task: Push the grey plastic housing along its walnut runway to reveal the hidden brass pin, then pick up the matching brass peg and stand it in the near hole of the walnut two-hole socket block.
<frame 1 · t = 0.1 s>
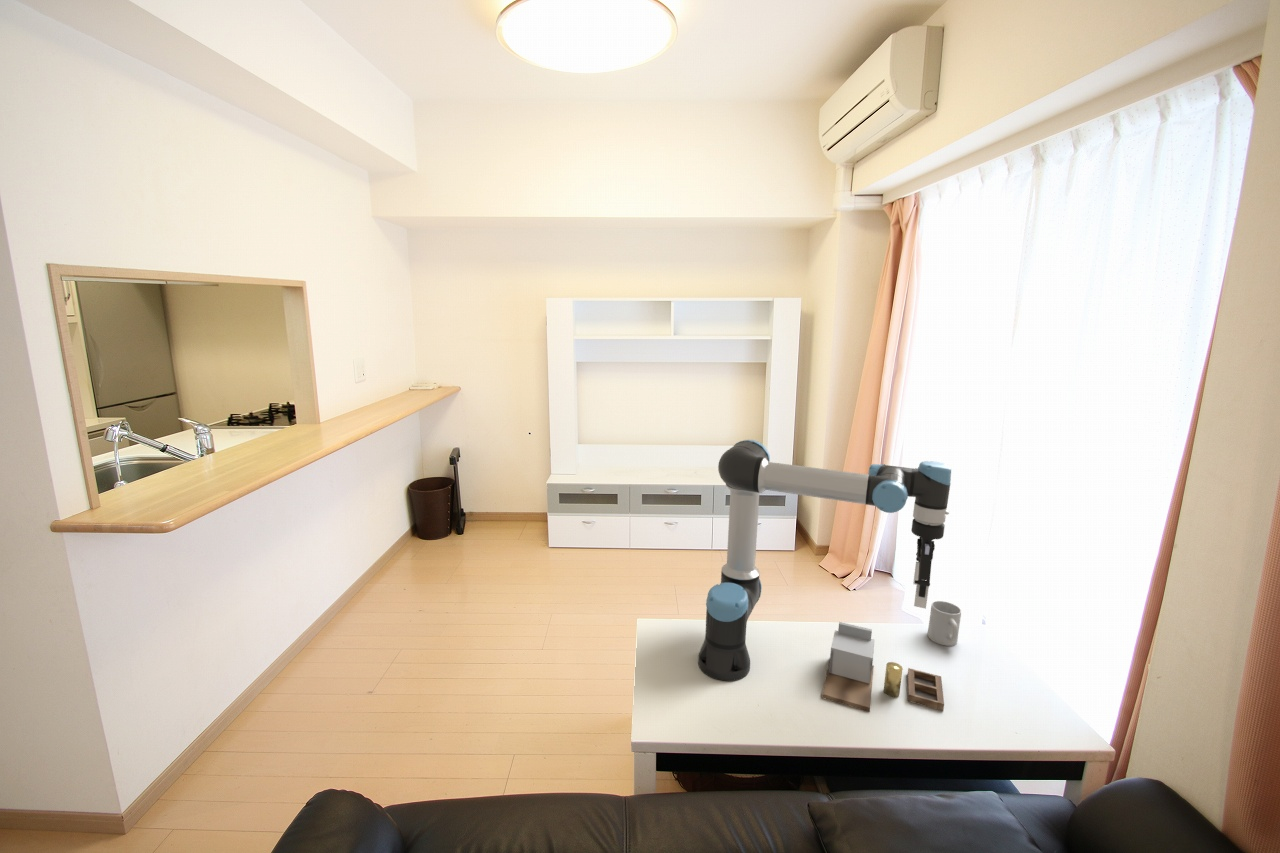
hand: (919, 595, 148), 28 cm above the table, fingers open, 13 cm apart
socket block: (924, 691, 152), on the table
mug: (944, 642, 176), on the table
pattern board: (850, 672, 159), on the table
peg: (891, 692, 151), on the table
cover: (852, 651, 158), point 7 cm above the table, slide at 0.0 cm
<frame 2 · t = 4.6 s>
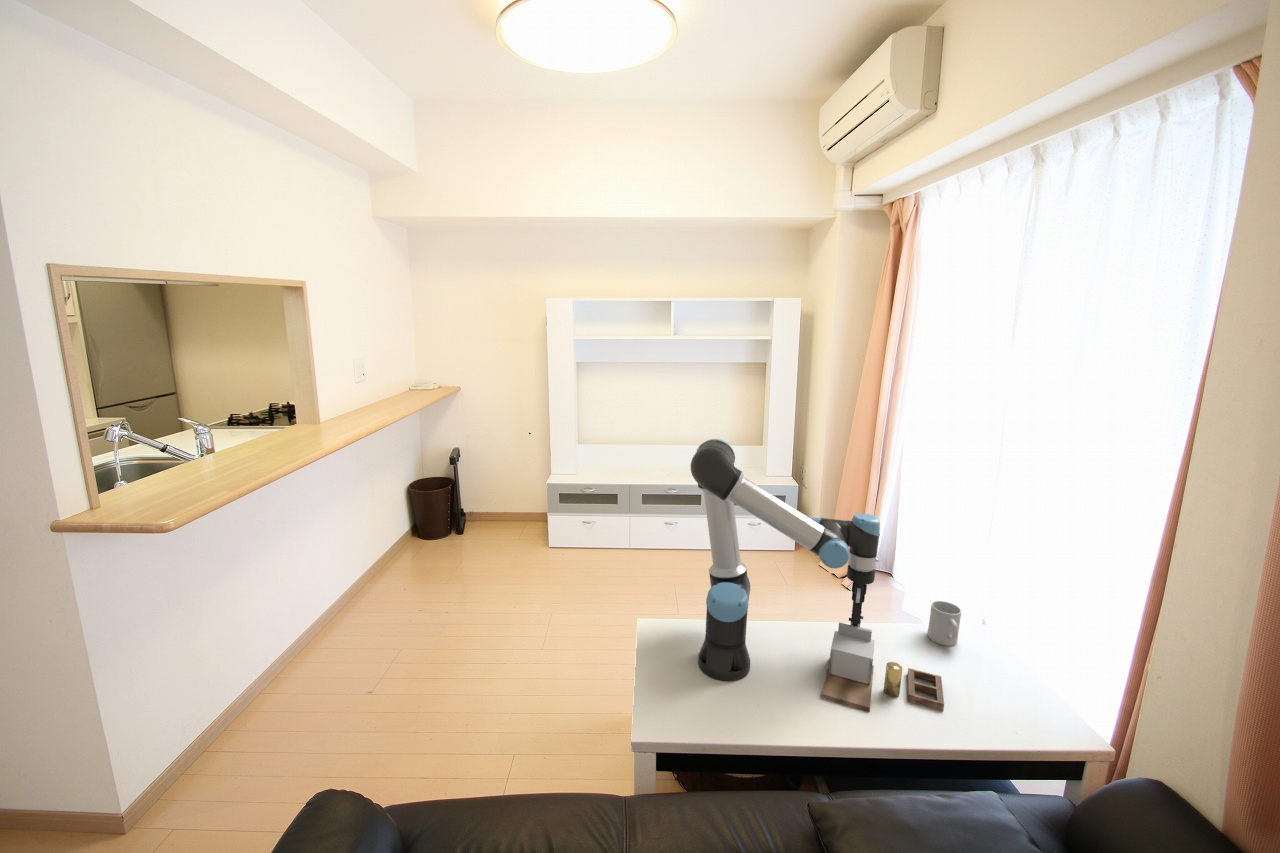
hand: (853, 639, 165), 6 cm above the table, fingers closed
cover: (852, 651, 158), point 7 cm above the table, slide at 0.4 cm, touching gripper
everything else where it was.
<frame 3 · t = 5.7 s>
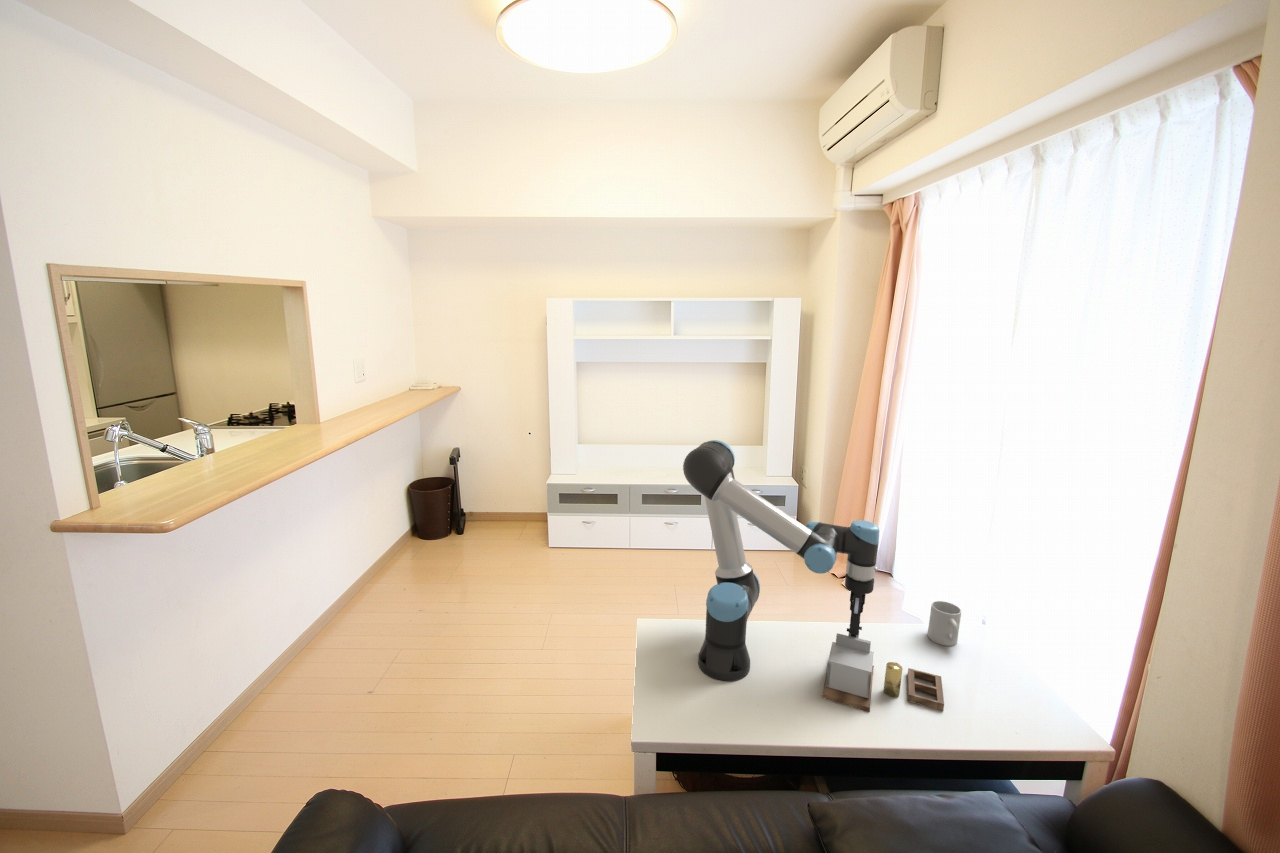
hand: (851, 650, 159), 6 cm above the table, fingers closed
cover: (850, 664, 152), point 7 cm above the table, slide at 6.7 cm, touching gripper
everything else where it was.
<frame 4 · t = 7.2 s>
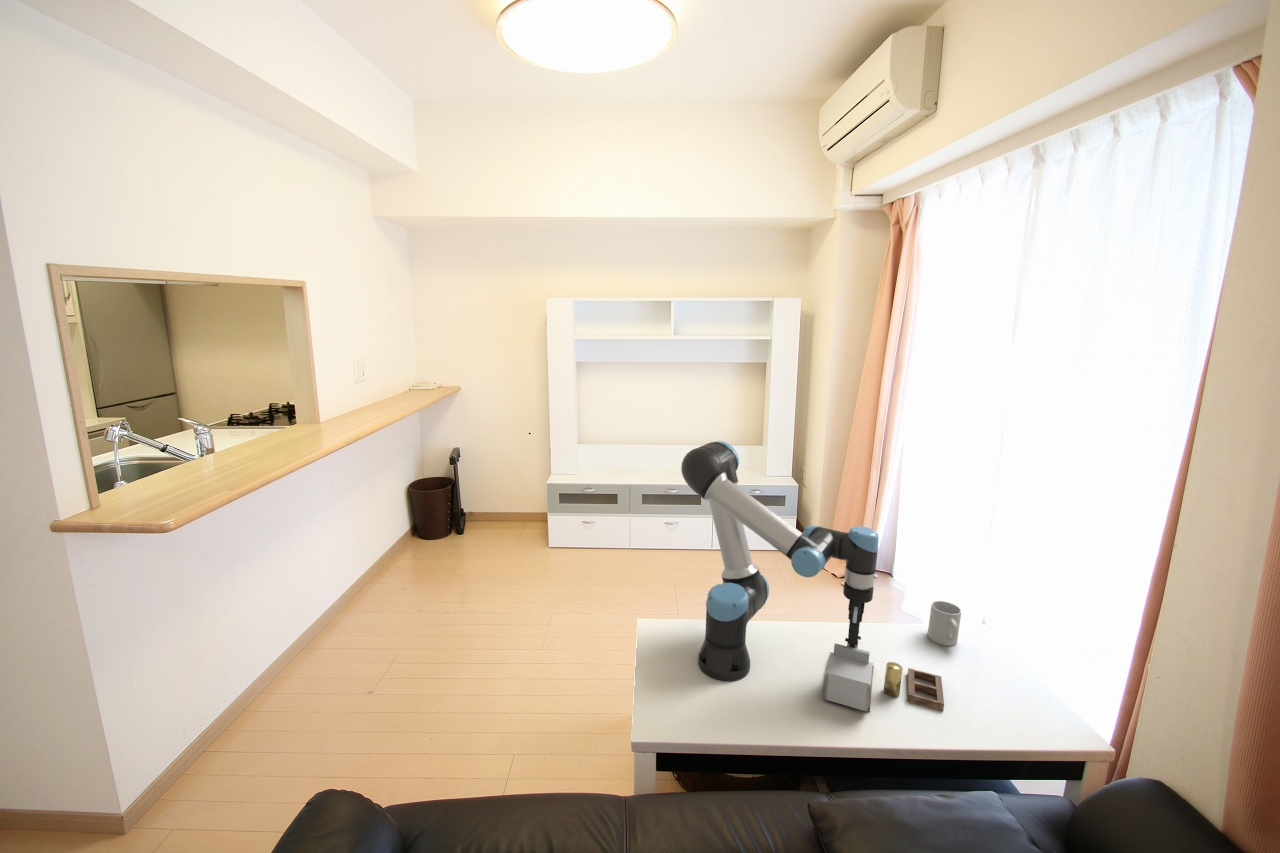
hand: (850, 661, 154), 6 cm above the table, fingers closed
cover: (848, 675, 147), point 7 cm above the table, slide at 12.3 cm, touching gripper
everything else where it was.
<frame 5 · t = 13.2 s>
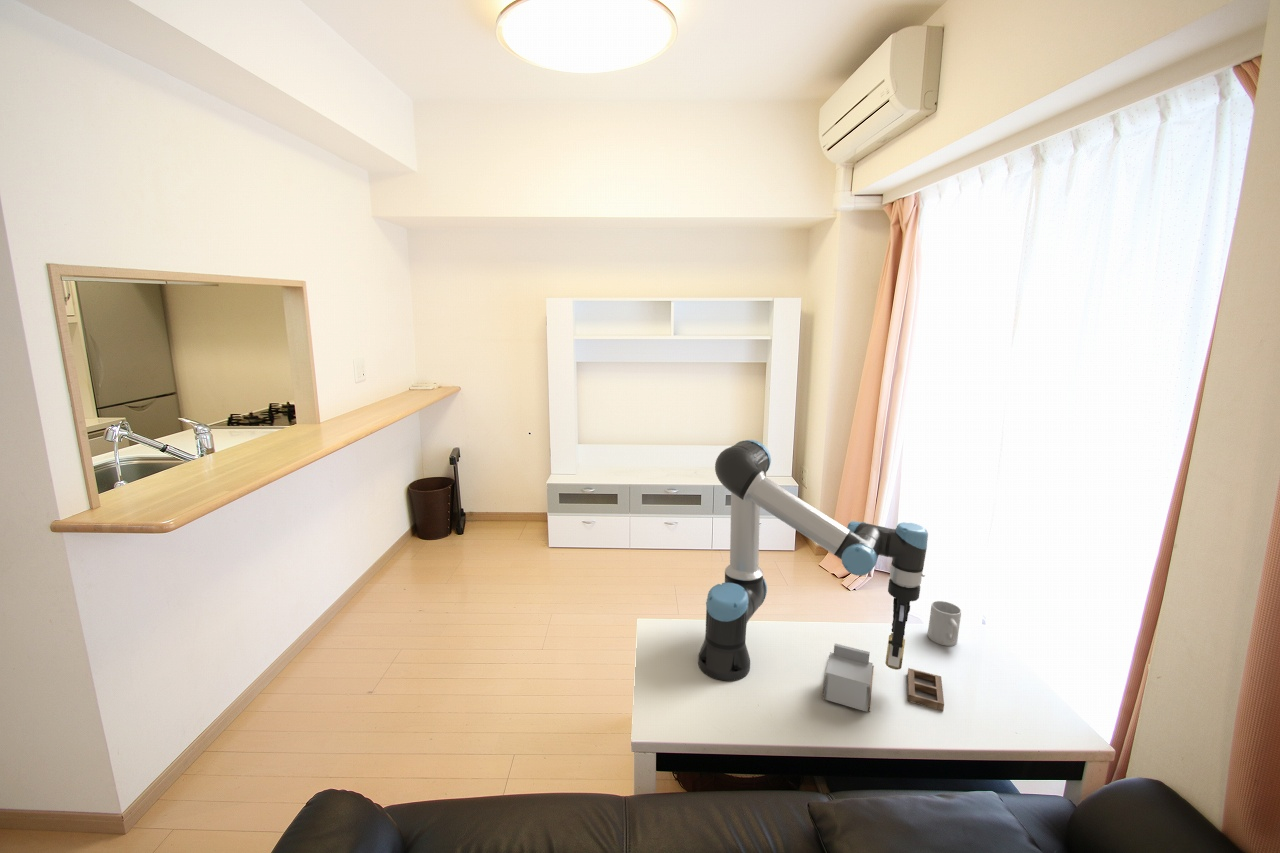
hand: (893, 660, 149), 10 cm above the table, fingers closed on peg, 4 cm apart
peg: (893, 664, 150), point 8 cm above the table, touching gripper
cover: (848, 675, 147), point 7 cm above the table, slide at 12.4 cm
everything else where it was.
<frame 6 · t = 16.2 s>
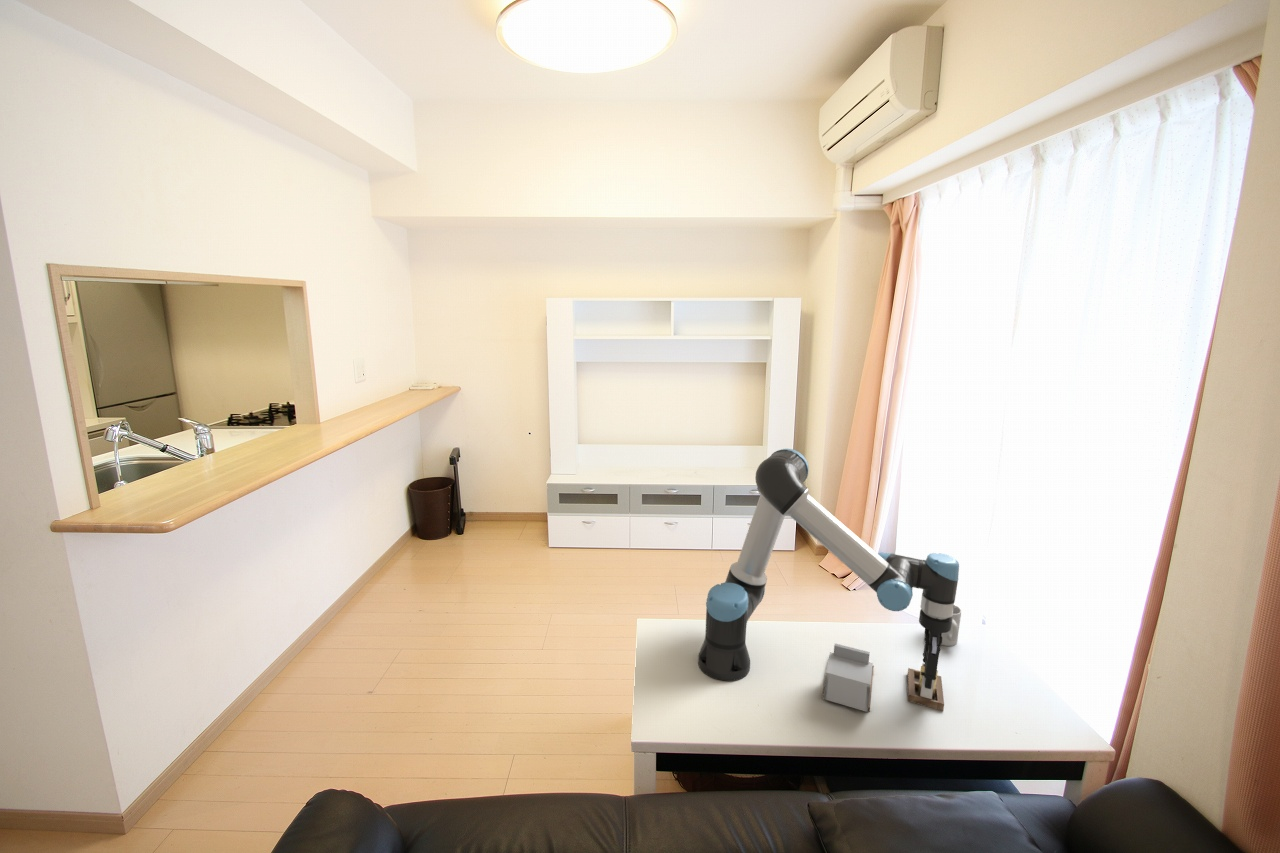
hand: (925, 691, 149), 2 cm above the table, fingers closed on peg, socket block, 4 cm apart
peg: (925, 695, 149), point 1 cm above the table, touching gripper
everything else where it was.
when the fingers open (2 cm above the table, at t = 17.4 s): peg stays where it is, resting on socket block.
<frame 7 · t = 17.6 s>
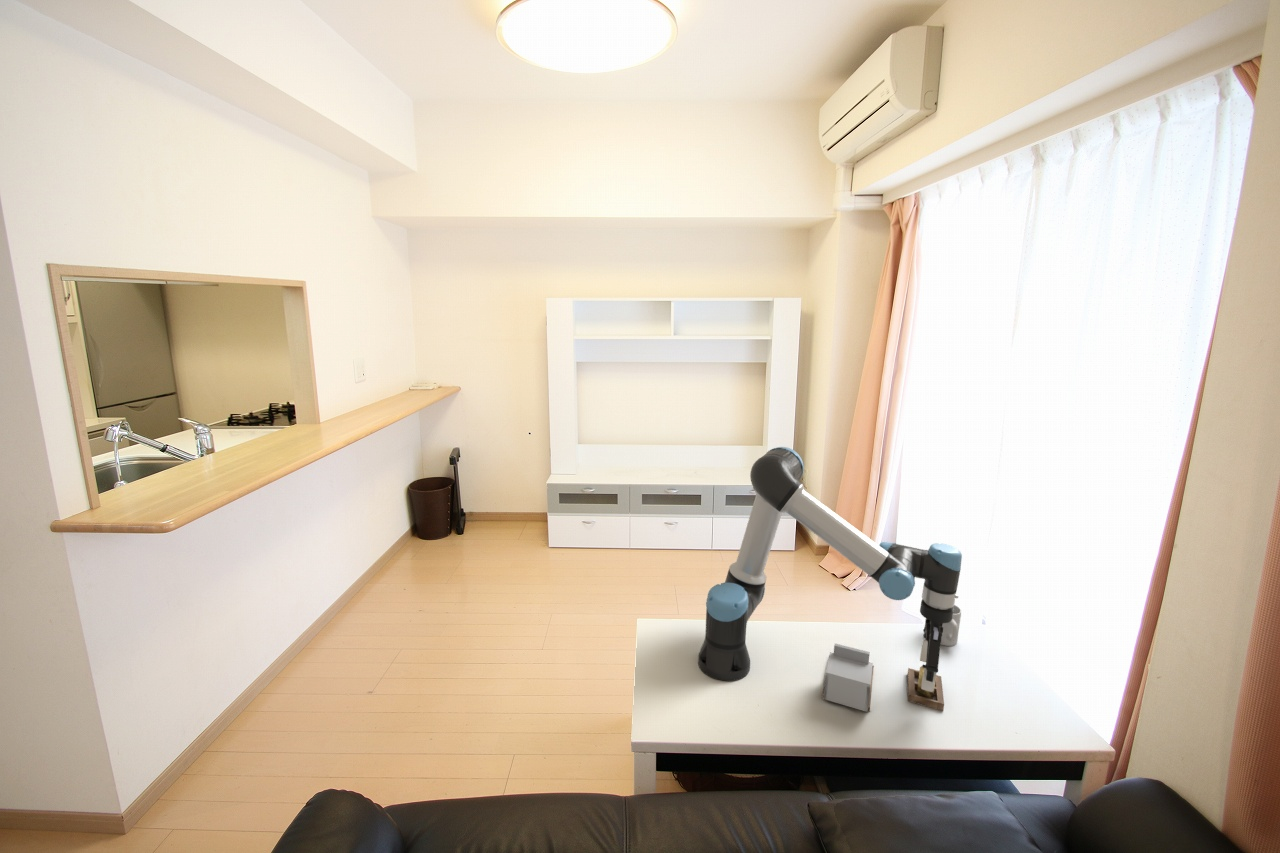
hand: (926, 675, 148), 7 cm above the table, fingers open, 13 cm apart
peg: (924, 697, 149), resting on socket block
everything else where it was.
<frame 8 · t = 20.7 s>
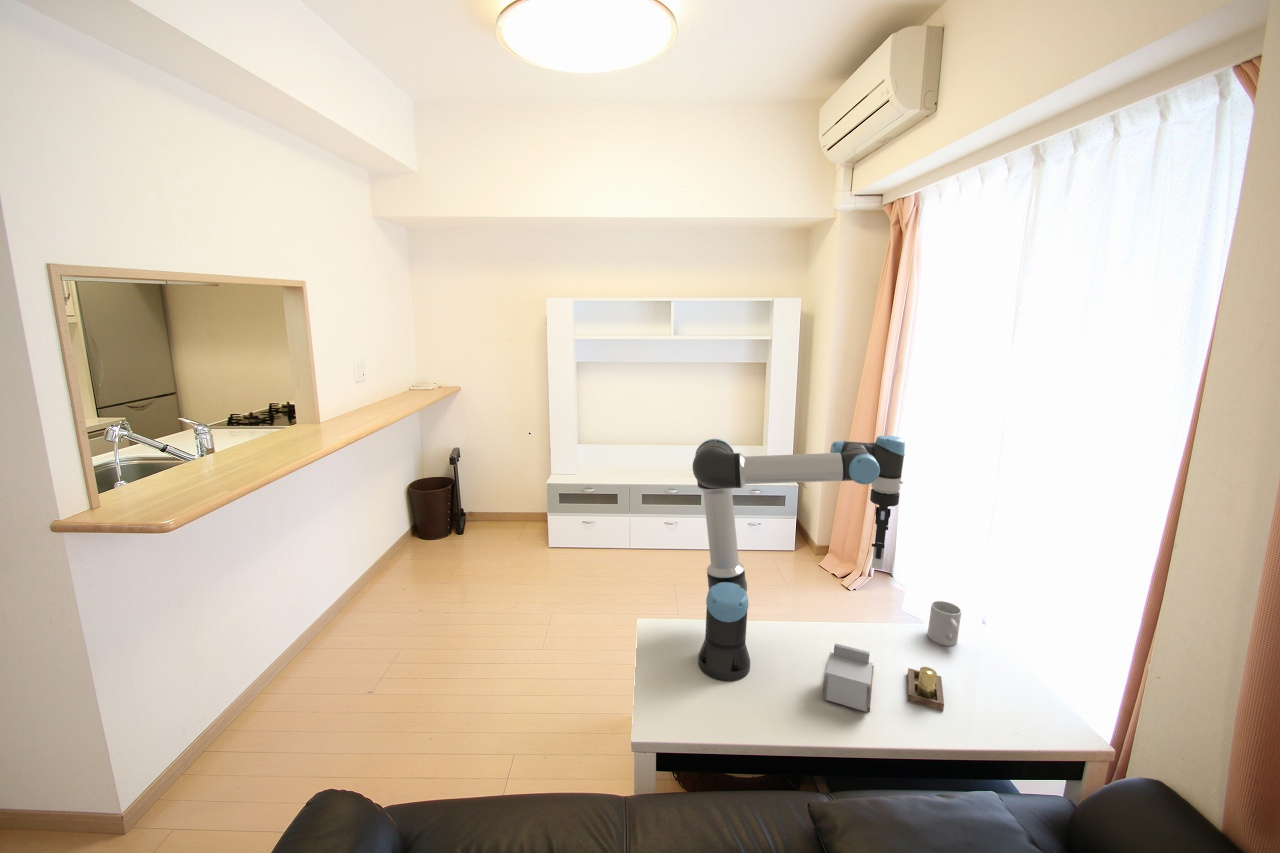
hand: (877, 559, 161), 32 cm above the table, fingers open, 13 cm apart
nothing on the table moved.
at the end: cover slide at 12.4 cm; peg 0.1 cm from the target spot on the socket block, point 0.2 cm above the socket block's base; peg tilted 0° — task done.
